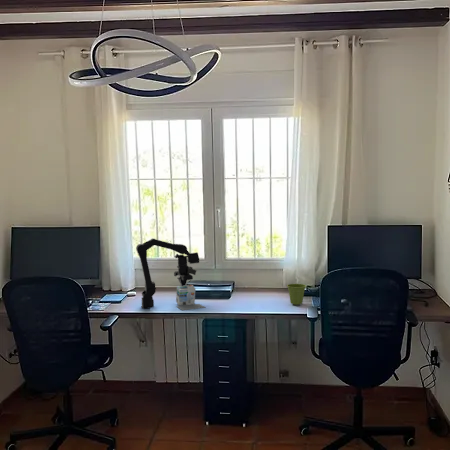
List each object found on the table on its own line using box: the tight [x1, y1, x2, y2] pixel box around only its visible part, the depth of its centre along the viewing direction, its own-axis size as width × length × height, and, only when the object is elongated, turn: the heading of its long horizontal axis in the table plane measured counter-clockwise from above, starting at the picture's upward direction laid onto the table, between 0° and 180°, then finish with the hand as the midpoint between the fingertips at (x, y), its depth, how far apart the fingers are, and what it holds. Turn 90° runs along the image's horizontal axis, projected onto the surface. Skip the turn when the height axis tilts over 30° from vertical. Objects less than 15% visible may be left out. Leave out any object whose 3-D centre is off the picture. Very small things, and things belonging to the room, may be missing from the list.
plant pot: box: [286, 283, 307, 305], centre depth 320 cm, size 12×12×11 cm
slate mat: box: [175, 303, 206, 311], centre depth 317 cm, size 15×11×1 cm
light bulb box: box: [175, 284, 196, 306], centre depth 324 cm, size 11×7×11 cm, turn 111°
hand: (183, 288), depth 327 cm, fingers closed
